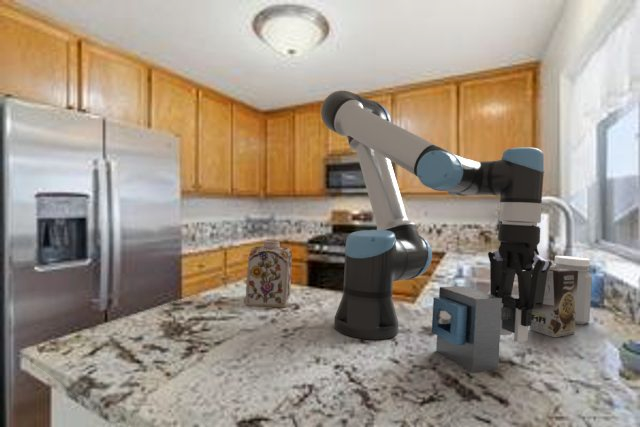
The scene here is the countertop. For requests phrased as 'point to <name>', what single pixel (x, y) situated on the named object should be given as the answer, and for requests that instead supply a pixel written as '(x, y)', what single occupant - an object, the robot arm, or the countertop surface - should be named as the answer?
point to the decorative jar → (269, 275)
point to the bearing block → (474, 330)
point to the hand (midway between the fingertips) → (512, 337)
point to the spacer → (458, 321)
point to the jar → (579, 284)
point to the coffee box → (557, 304)
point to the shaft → (506, 313)
